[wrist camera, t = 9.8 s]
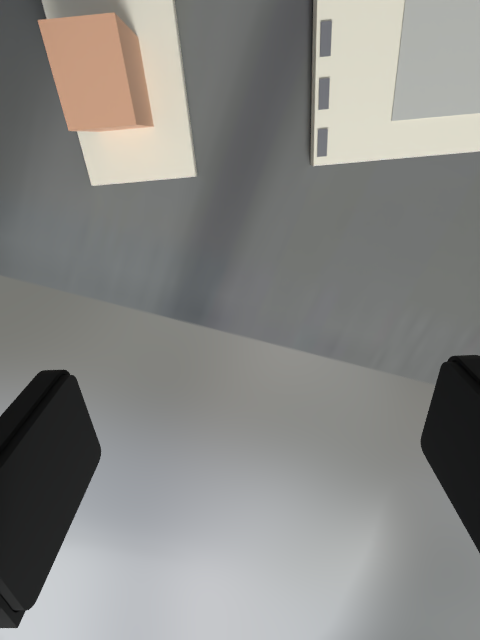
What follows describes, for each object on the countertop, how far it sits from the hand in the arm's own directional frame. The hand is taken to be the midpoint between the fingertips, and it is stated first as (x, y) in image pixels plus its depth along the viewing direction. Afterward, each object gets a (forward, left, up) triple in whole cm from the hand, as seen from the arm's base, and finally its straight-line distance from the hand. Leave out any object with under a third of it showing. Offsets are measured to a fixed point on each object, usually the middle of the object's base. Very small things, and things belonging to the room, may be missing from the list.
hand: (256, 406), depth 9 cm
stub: (+7, -10, -22) cm, 26 cm away
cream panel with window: (-14, -10, -23) cm, 28 cm away
